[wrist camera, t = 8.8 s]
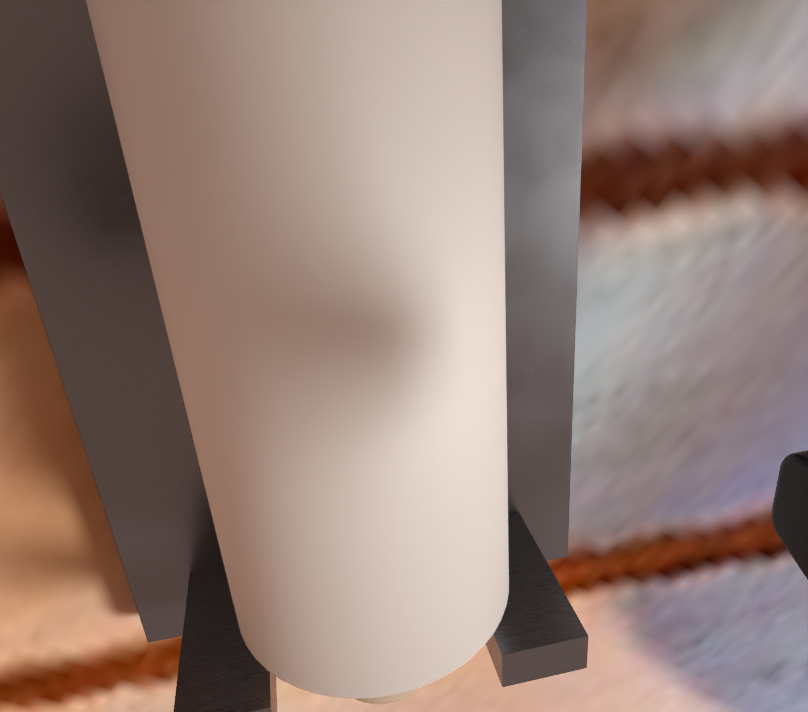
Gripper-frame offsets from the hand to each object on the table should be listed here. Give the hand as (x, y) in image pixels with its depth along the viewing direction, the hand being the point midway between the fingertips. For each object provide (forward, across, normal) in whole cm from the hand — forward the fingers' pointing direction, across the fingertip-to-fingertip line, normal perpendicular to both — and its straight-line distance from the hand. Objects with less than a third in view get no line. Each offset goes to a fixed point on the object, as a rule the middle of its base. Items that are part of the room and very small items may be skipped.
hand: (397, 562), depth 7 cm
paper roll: (+9, 0, 0) cm, 9 cm away
